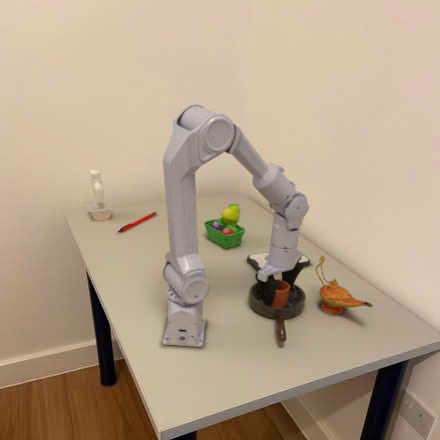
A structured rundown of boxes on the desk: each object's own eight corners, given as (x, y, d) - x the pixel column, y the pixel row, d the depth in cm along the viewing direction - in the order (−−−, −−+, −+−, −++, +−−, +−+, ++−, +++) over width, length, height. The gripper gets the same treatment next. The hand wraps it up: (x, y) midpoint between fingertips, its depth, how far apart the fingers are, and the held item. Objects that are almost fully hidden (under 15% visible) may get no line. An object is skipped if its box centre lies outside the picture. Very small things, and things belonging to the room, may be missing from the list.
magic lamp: (353, 336, 94) (364, 293, 88) (300, 296, 107) (307, 255, 101) (376, 328, 97) (388, 285, 91) (322, 289, 110) (329, 250, 104)
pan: (306, 322, 98) (308, 310, 96) (249, 318, 98) (250, 306, 97) (300, 291, 109) (301, 280, 107) (248, 288, 109) (249, 277, 107)
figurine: (91, 224, 139) (85, 177, 131) (87, 213, 146) (81, 167, 138) (114, 221, 141) (110, 175, 133) (109, 210, 148) (104, 166, 140)
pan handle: (274, 313, 98) (275, 307, 97) (282, 314, 98) (283, 307, 97) (277, 343, 89) (278, 337, 88) (286, 344, 89) (287, 337, 88)
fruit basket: (202, 237, 133) (202, 202, 127) (225, 231, 138) (226, 196, 132) (225, 252, 126) (227, 214, 120) (248, 244, 130) (251, 208, 124)
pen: (117, 232, 134) (117, 229, 133) (155, 213, 148) (155, 210, 147) (119, 233, 133) (119, 229, 133) (157, 213, 148) (157, 210, 147)
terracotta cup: (288, 309, 101) (291, 292, 99) (264, 308, 101) (267, 290, 99) (286, 297, 106) (289, 280, 103) (264, 296, 106) (265, 278, 103)
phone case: (294, 252, 128) (245, 260, 122) (294, 247, 127) (245, 255, 121) (311, 266, 121) (260, 275, 115) (312, 261, 120) (261, 269, 114)
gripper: (287, 228, 102) (280, 279, 109) (248, 247, 93) (243, 301, 100) (313, 237, 98) (304, 289, 105) (275, 258, 89) (269, 314, 96)
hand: (276, 296), depth 102 cm, fingers open, 7 cm apart
